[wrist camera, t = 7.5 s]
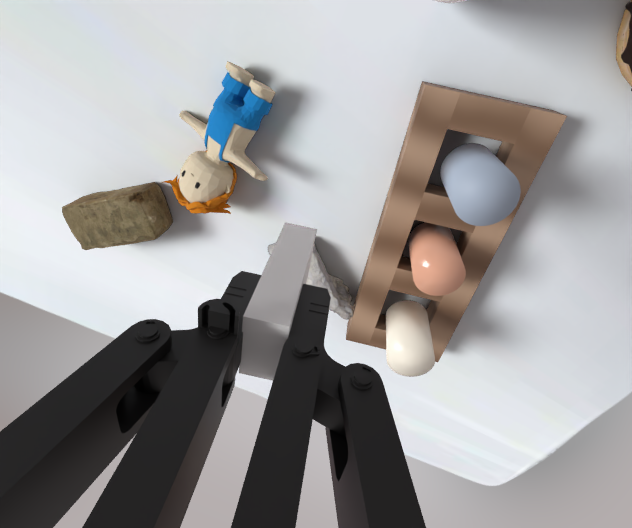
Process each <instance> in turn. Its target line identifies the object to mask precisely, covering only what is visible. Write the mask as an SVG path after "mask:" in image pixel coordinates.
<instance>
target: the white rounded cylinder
mask: <svg viewBox="0 0 632 528" xmlns="http://www.w3.org/2000/svg"><path fill="white" fill-rule="evenodd" d="M386 352H387V364H388V366H389V367H390V368H391V369H392V370H393V371H394V372H396V373H397V374H400V375H403V376H409V377H414V376H420V375H423V374H425V373H427V372H428V371H430V370H431V369H432V367H433V366H434V364H435V356H434V350H433V344H432V338H431V332H430V326H429V320H428V314H427V311H426V309H425V308H424V307H423V306H422V305H421V304H420V303H418V302H415V301H411V300H402V301H398V302H396V303H394V304H392V305H391V306H390V307H389V308H388V310H387V312H386Z"/></svg>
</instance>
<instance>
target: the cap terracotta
mask: <svg viewBox="0 0 632 528" xmlns="http://www.w3.org/2000/svg"><path fill="white" fill-rule="evenodd" d="M408 245H409V252H410V260H411V267H412V275H413V281H414V283H415V285H416V287H417V288H418V289H419V290H421V291H422V292H424V293H426V294H429V295H433V296H442V295H447V294H450V293H452V292H454V291H455V290H457V289H458V288H459V287H460V286H461V285H462V283H463V282H464V279H465V276H466V270H465V266H464V264H463V261H462V258H461V256H460V253H459V250H458V248H457V245H456V242H455V239H454V237H453V234H452V232H451V230H450V229H449V228H448V227H444V226H440V225H435V224H431V223H427V222H425V223H422V224H420V225H418V226H417V227H416V228H414V229H413V231H412V232H411V234H410V236H409V239H408Z"/></svg>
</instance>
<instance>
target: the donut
mask: <svg viewBox="0 0 632 528" xmlns="http://www.w3.org/2000/svg"><path fill="white" fill-rule="evenodd" d="M616 60H617V63H618V65H619V68H620V70H621V73H622V75H623V76H624V78H625V79H626V80H627V81H628V83H629V84H630V85H631V86H632V0H631V1H630V2H629V3H628V4H627V5H626V10H625V12H624V15H623V18H622V21H621V25H620V28H619V31H618V34H617V47H616ZM631 91H632V89H631Z"/></svg>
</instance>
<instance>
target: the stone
mask: <svg viewBox="0 0 632 528" xmlns="http://www.w3.org/2000/svg"><path fill="white" fill-rule="evenodd" d="M275 244H276V243H274V244H272V245H269V246H268V252H269V254H270V255H271V253H272V251H273V249H274V246H275ZM306 284H308V285H312V286H317V287H322V288H326V289H327V290H328V292H329V295H330V297H331V300H330V306H329V310H331V311H333V312H336V313H337V314H339V315H340V316H341V317H342V318H343V319H350V318H351V317H353V308H352V306H351V305H350V302H351V301H352V297H351V296H350V294H349V287H347V286H346V285H343V280H342V279H338V278H337V277H333V276H332V275H329V274H328V273H327V271H326V267H325V266H324V264H323V262H322V260H321V258H320V256H319V254H318V252H317V249H316V246H315V244H314V247H313V252H312V258H311V263H310V268H309V273H308V278H307V282H306Z"/></svg>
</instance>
